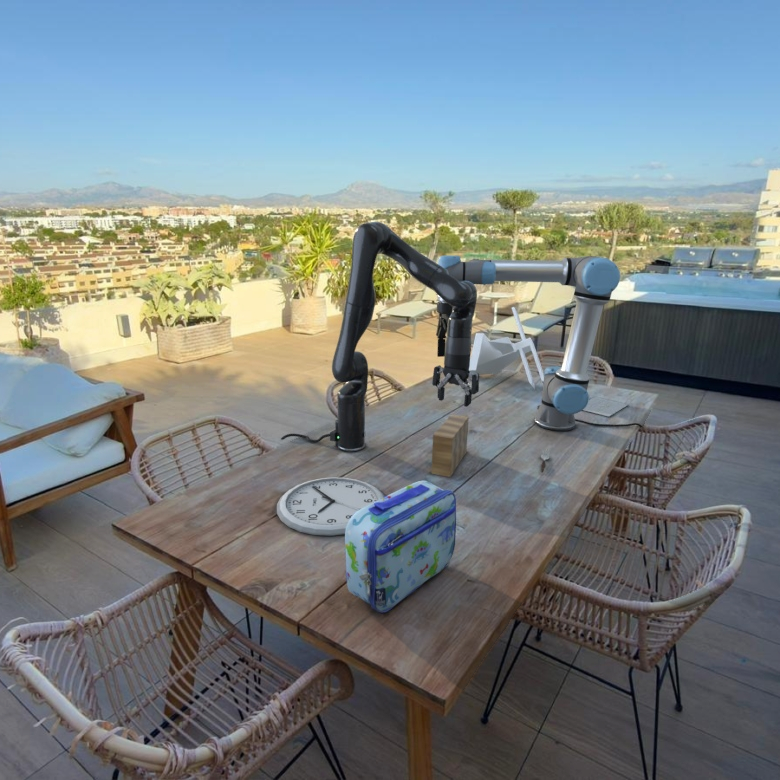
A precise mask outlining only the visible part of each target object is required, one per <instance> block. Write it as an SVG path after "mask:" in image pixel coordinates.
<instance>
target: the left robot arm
mask: <svg viewBox="0 0 780 780" xmlns="http://www.w3.org/2000/svg"><path fill="white" fill-rule="evenodd" d="M379 254H381V255H383V256H386V257H388V258H390V259H392V260H394V261H395V262H397V263H398V264H399V265H401V267H402V268H403V269H405V271H406V272H407V273H408V274H409V275H410V276H411V277H412V278H413V279H415V280H416V281H417V282H419V283H420V284H422V285H424V286H425V287H427V288H428V289H429V290H431V291H433V292H434V293H435V294H436V293H437V294H438V295H439V296H440V297H441V298H442V299H443V300H444V301H445V302H447V303H448V304H450V305H451V306H453V309H452V314H451V316H450V317H449V319H448V326H447V334H446V338H445V357H444V358H443V366H441V365H440V364H439V365H437V366H434V367H433V373H432V383H431V384H432V386H435V387H436V388H437V399H438V401H440V402H442V401H443V400H444V399H445V390H446V389H445V386H447V384H449V385H455V386H460V388H461V390H463V391H464V393H465V394H464V403H463V407H465V408H468V407H469V406H470V405H471V404H472V397H473V395H475V394H478V393H479V391H480V390H479V389H480V375H479V373H475V374H474V373H470V372H469V366H470V358H471V354H472V333H473V331H472V330H473V318H474V315H475V310H476V307H477V301H478V290H477V287H476V284H473V283H472V282H470V281H461V282H460V281H458V280H456V279H455V278H453V277H452V276H450V275H449V272H448V271H447V270H446V269H445V268H443V267H442V266H440V265H439V264H438V262H435V261H434V260H432V259H430V258H429V257H427V256H426V255H425V254H423V253H421V252H420V251H418V250H417V249H415V248H414V247H412V246H411V245H410V244H408V243H407V242H406V241H405V240H404V239H402V238H401V237H400V236H399V235H397V234H396V232H395V231H394V230H392V228H390V227H389V226H388V225H387V224H385V223H383V222H380V221H372V222H364V223H361V224H360V225H359V226H358V227H357V228H356V229H355V231H354V234H353V237H352V251H351V266H350V273H349V277H348V285H347V291H346V295H345V300H344V307H343V314H342V320H341V326H340V329H339V331H340V332H339V335H338V340H337V344H336V347H335V350H334V353H333V358H332V361H331V372H332V376H333V378H334V379H335V381H336V382H338V383H342V384H343V383H344V384H343V386H342V387H341V388H340V389H338V391H337V395H336V397H337V419H336V420H335V421H334V423H335V424H334V426H335V427H334V428H335V429H334V430H331V431H330V432H329V433H326V434H323V435H321V436H320V437H319V438H317V439H311V438H310V437H309V436H308V435H304V434H300V433H288V434H285V435H283V436H282V437H280V440H281V441H283V440H285V439H287V438H289V437H298V438H302V439H306V440H307V442H309V443H319V442H321V441H322V440H323V439H325V438H329V441H331V442H335V447H337V448H338V449H339V450H341V451H344V452H359V451H362V450H363V449H365V447H366V435H367V433H366V394H367V391H368V382H369V381H368V380H369V363H368V360H367V357H366V356H365V354H364V353H363V352H361V351H357V350H356V349H357V346H358V343H359V342H360V340H361V338H362V337H363V335H364V334H365V333H366V331H367V329H368V327H369V326H370V325H371V322H372V320H373V317H374V312H375V307H376V298H377V295H376V289H375V284H374V283H375V282H374V270H375V264H376V260H377V257H378V255H379ZM442 374H443V376H444V377H443V378H442V379H441V375H442ZM469 379H470V382H471V383H470V382H469Z"/></svg>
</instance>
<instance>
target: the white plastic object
mask: <svg viewBox="0 0 780 780" xmlns="http://www.w3.org/2000/svg"><path fill="white" fill-rule="evenodd" d="M511 311H512V314H513V317H514V320H515V323H516V326H517V328H518V333H519V336H520V338H521V340H520V341H518V342H515V343H514V342H512V340H511V339H510V337H509V336H505V337H500V338H496V339H490V338H488V336H487V335H486V334H485V333H484V332H476V333H475V335H474V336H475V337H474V341H473V344H472V348H471V355H470V366H469V372H470V373H474V374H475V373H479V376H484V375H493V376H495V375H498V374H502V373H503V371H502V370H504V369H505V368H507V367H508V366H509V365H511V364H513V363H514V362H516V360H518V359H519V358H520V359H521V361H522V364H523V367H524V370H525V373H526V377H527V379H528V382H529V384H530V386H531V387H532V388H533V389H534V390H536V384H535V380H534V377H533V375H532V374H533V373H532V372H531V368H530V365H529V363H528V358H527V355H526V354H528V353H530V352H531V353H532V356H533V359H534V362H535V365H536V368H537V371H538V374H539V377H540V381H541V382H542V383H543V382H544V373H545V371H544V369H543V366H542V364H541V361H540V358H539V355H538V352H537V349H536V346H535V343H534V341H533V339H532V338H531V337H528V338H527V337H526V334H525V331H524V328H523V325H522V323H521V318H520V316H519V313H518V311H517V309H516V307H515V306H512V307H511Z"/></svg>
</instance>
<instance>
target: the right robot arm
mask: <svg viewBox="0 0 780 780" xmlns="http://www.w3.org/2000/svg"><path fill="white" fill-rule="evenodd" d="M437 264H439V265H440V266H442V267H443V268H445V269H446V270H447V271H448V272H449V275H450V276H452V277H453V278H455V279H456V280H458V281H460V282H461V281H470V282H472V283H473V284H474V285H482V286H487V285H493V284H494V283H495V282H515V283H516V282H517V283H519V282H521V283H524V282H525V283H559V284H560V285H561V286H568V287H569V286H571V287H575V288H574V292H573V297H574V298H575V300H576V305H575V309H574V313H573V317H572V321H571V326H570V330H569V335H568V337H567V341H566V345H565V351H564V355H563V359H562V363H561V366H558V365H557V366H554V365H553V366H547V367H545V369H544V382H542V394H541V402H540V404H539V405H537V406H536V410H537V411H536V413H535V416H534V424H535V425H536V426H537V427H539V428H542V429H544V430H549V431H556V432H567V431H572V430H574V429H575V428H576V422H577V423H582V424H586V425H588V426H589V425H590V426H595V427H612V428H613V427H615V428H616V427H632V426H638V427H639V428H642V429H643V428H644V426H643V424H642V425H641V424H640V423H637V422H633V423H624V424H623V423H621V424H620V423H619V424H610V423H609V424H605V423H594V422H589V421H586V420H582V419H576V418H575V417H576V416H575V414H578V413H580V412H582V411H584V410H583V409H584V408H585V407H586V406H587V404H588V400H590V398H589V392H588V387H589V382H590V376H589V375H588V373H587V371H588V369H589V364H590V361H591V356H592V353H593V349H594V345H595V341H596V337H597V332H598V328H599V325H600V322H601V321H600V320H601V317H602V312H603V308H604V306H605V305H606V304H608V303H609V302H610V300H611V296H612V293H613V292H614V290H616V289H617V287H618V285H619V283H620V280H621V272H620V269H619V268H618V266H617V264H616V263H615V262H614V261H612V260H610V259H609V258H608V257H607V258H606V257H603V256H602V257H601V256H595V255H587V256H586V255H585V256H579V257H564V258H563V259H561V260H533V259H532V260H531V259H529V260H528V259H527V260H524V259H523V260H521V259H479V258H472V259H470V260H469V261H462V260H461V256H460V255H440V257H439V258H438V261H437ZM435 295H436V299H437V303H436V312H437V314H438V321H437V327H436V334H435V335H436V338H437V350H436V351H437V353H436V355H437V358H443V357H445V343H446V337H447V326H448V319H449V317H450V316H451V314H452V309H453V306H451V305H450V304H448V303H447V302H445V301H444V300H443V299H442V298H441V297H440V296H439V295H438V294H437V293H436V292H435Z"/></svg>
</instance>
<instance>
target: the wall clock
mask: <svg viewBox="0 0 780 780" xmlns="http://www.w3.org/2000/svg"><path fill="white" fill-rule="evenodd" d="M384 497H386V495H385V494H384V493H383V492H382V491H381V490H380V489H379V488H377V487H376V486H374V485H372V484H371V483H369V482H365V481H362V480H359V479H355V478H349V477H338V476H337V477H335V476H333V477H332V476H331V477H322V478H317V479H312V480H307V481H305V482H302V483H299V484H297V485H295V486H293V487H292V488H290V489H288V490H287V491H286V492H285V493H284V494H283V495H281V496H280V498H279V499H278V502H277V503H276V515H277V517H278V518H279V520H280V521H281V522H282V523H283V524H285V525H286V526H287V527H288V528H290V529H293V530H295V531H297V532H299V533H303V534H308V535H312V536H327V537H328V536H329V537H331V536H332V537H333V536H342V535H345V531H346V527H347V524H348V522H349V520H350V518H351V517H352V515H353V514H354V513H355V512H357V511H358V510H360V509H362V508H364V507H366V506H368V505H370V504H372V503H374V502H376V501H378V500H380V499H382V498H384Z"/></svg>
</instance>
